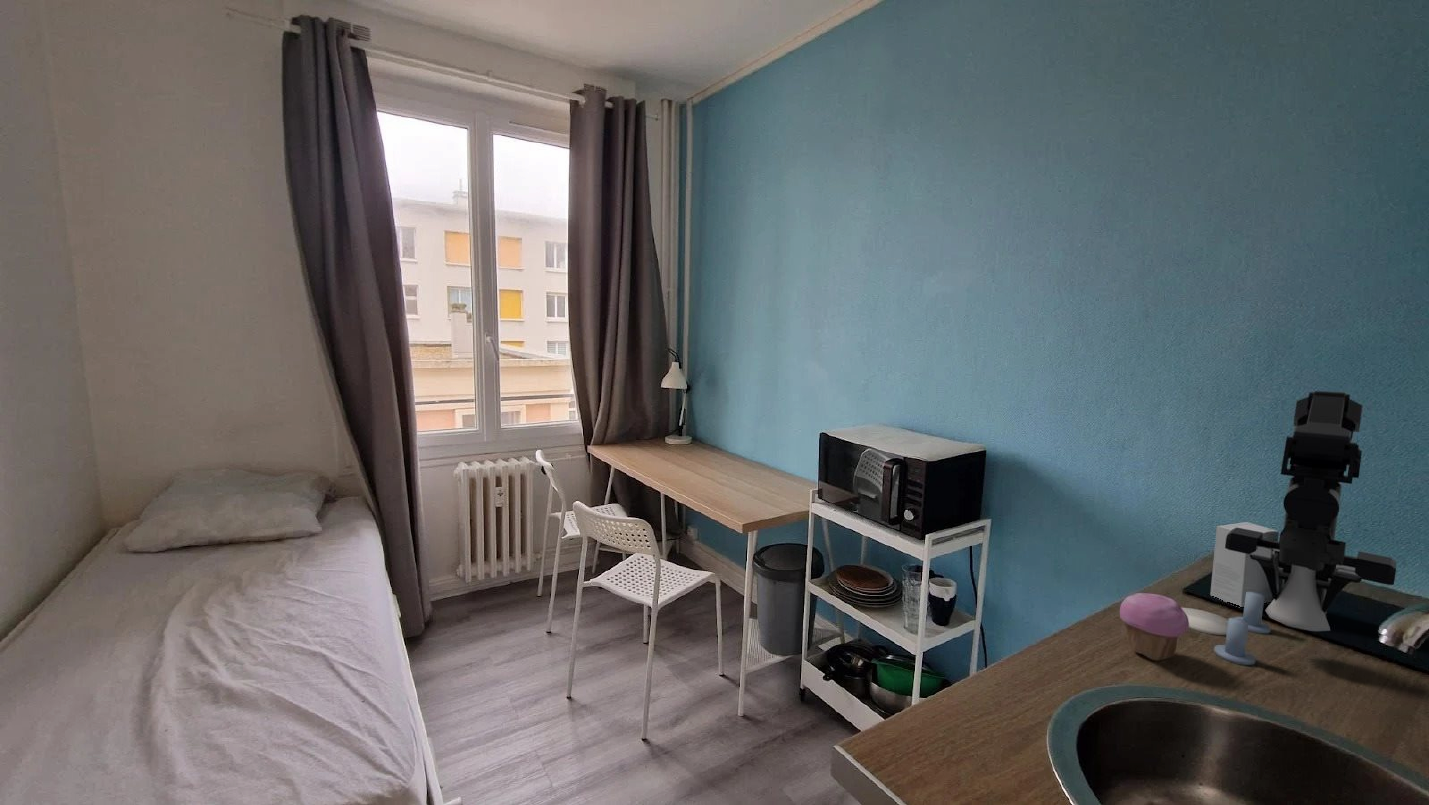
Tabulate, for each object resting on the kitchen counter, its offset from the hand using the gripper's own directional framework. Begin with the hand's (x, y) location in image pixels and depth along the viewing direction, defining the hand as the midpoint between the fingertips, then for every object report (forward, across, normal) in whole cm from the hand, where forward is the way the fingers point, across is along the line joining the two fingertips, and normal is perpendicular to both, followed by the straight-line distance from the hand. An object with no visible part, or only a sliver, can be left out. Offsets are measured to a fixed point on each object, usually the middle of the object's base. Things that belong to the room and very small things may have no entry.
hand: (1298, 604), depth 94 cm
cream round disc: (+9, -12, +3) cm, 15 cm away
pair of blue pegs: (+9, -6, 0) cm, 11 cm away
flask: (+3, 0, 0) cm, 3 cm away
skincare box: (+9, -9, +20) cm, 24 cm away
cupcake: (+9, -15, -18) cm, 25 cm away
